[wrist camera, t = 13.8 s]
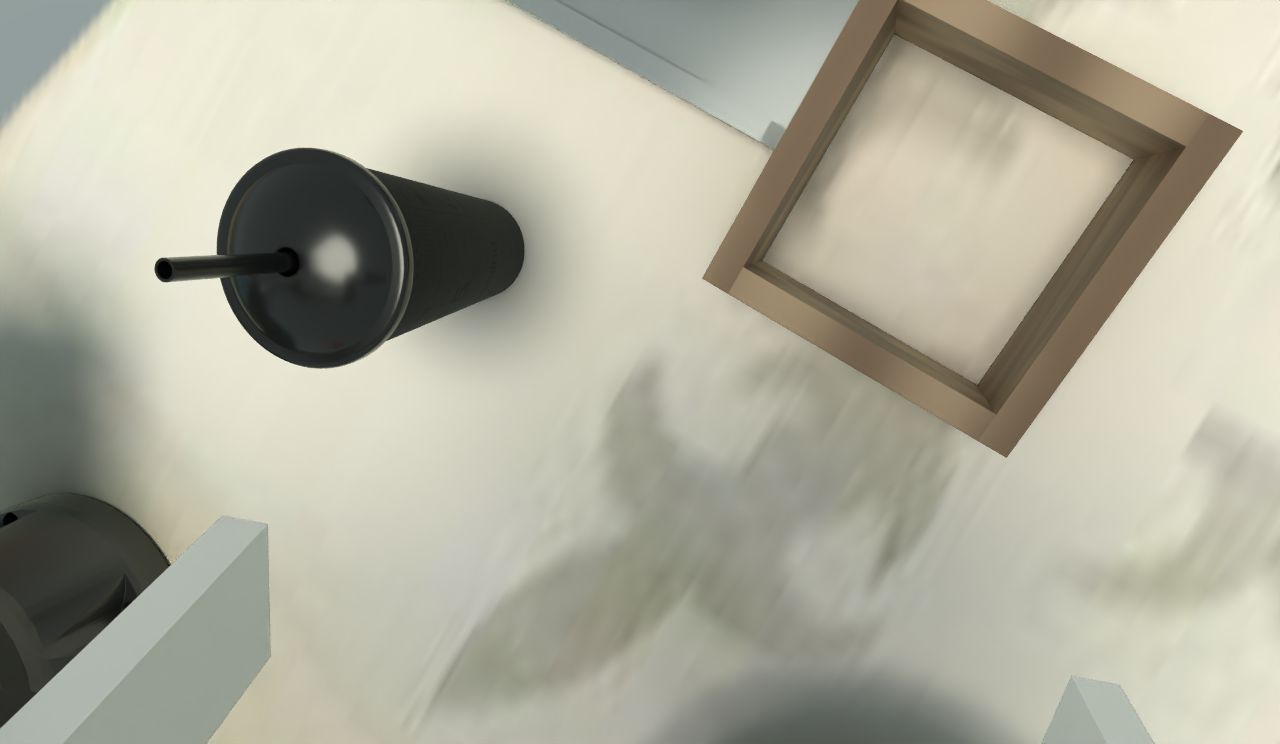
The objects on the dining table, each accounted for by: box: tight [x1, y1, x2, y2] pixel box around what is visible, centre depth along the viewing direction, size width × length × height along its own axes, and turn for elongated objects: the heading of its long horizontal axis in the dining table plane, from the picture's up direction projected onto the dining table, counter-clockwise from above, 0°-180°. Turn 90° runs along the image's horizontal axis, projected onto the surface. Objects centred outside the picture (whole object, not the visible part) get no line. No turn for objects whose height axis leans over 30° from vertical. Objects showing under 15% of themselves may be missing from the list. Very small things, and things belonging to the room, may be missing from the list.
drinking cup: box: [155, 148, 524, 369], centre depth 33 cm, size 8×8×20 cm
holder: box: [702, 0, 1243, 458], centre depth 34 cm, size 13×13×6 cm
